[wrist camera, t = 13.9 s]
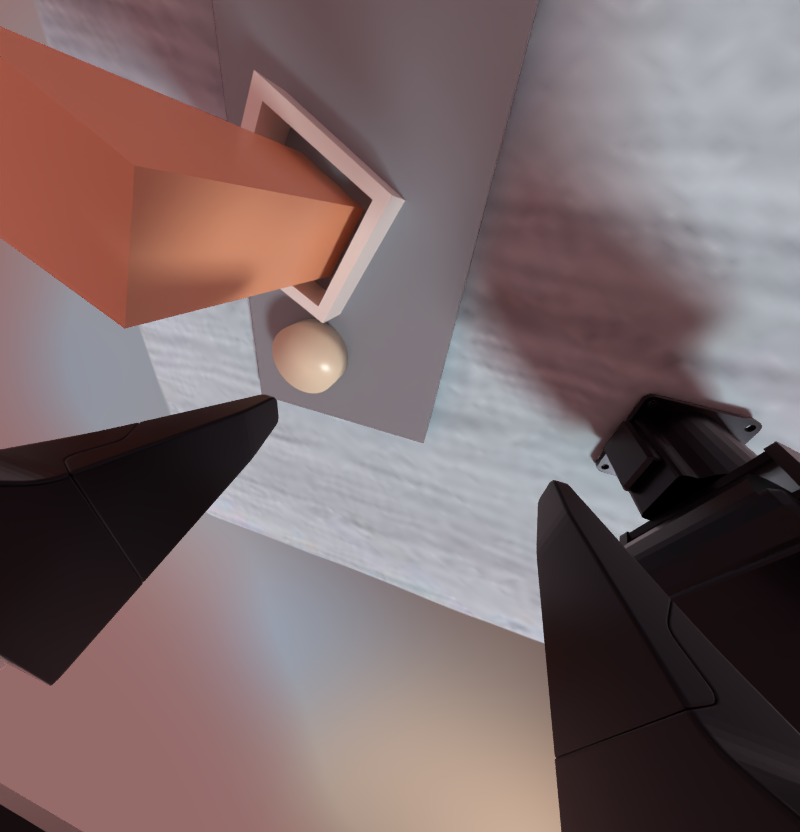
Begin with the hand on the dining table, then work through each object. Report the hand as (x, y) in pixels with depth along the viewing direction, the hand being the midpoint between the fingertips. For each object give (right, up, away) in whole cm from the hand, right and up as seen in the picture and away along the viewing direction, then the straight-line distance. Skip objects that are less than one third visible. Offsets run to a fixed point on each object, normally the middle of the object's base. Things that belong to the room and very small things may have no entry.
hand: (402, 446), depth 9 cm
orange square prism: (-5, +13, +8) cm, 16 cm away
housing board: (-3, +13, +9) cm, 16 cm away
